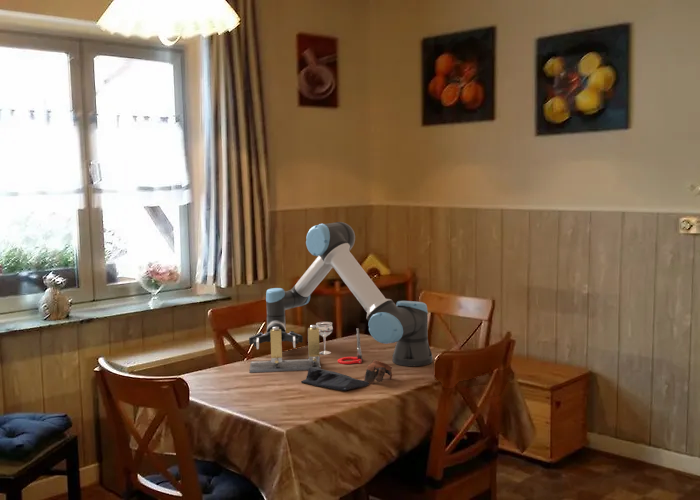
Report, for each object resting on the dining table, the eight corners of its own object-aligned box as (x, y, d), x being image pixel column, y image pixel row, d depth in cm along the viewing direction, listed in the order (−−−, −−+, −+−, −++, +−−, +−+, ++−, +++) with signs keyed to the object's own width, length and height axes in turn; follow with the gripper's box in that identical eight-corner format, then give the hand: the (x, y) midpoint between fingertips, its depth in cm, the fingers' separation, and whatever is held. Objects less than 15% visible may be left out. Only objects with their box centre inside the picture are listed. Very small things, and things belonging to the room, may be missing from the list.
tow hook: (337, 365, 285) (361, 364, 285) (334, 332, 284) (359, 331, 283) (338, 360, 294) (362, 358, 293) (336, 327, 292) (360, 326, 292)
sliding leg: (282, 359, 286) (281, 325, 284) (282, 365, 278) (281, 329, 277) (271, 360, 285) (270, 325, 284) (271, 365, 278) (270, 330, 277)
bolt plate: (318, 360, 291) (317, 321, 289) (320, 369, 279) (319, 328, 277) (250, 363, 288) (249, 324, 287) (249, 372, 277) (247, 331, 275)
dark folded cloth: (342, 396, 249) (341, 382, 248) (297, 383, 264) (297, 370, 263) (373, 385, 259) (373, 372, 259) (329, 373, 275) (328, 361, 274)
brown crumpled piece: (359, 380, 266) (367, 358, 268) (383, 390, 268) (391, 368, 270) (367, 380, 255) (376, 357, 257) (392, 391, 256) (401, 368, 258)
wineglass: (318, 350, 307) (317, 321, 305) (334, 350, 306) (333, 321, 304) (315, 354, 300) (314, 325, 299) (331, 355, 299) (331, 325, 298)
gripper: (307, 339, 303) (309, 353, 282) (244, 342, 300) (242, 356, 279) (307, 321, 302) (309, 333, 281) (244, 324, 299) (241, 336, 278)
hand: (275, 344), depth 280 cm, fingers open, 13 cm apart
